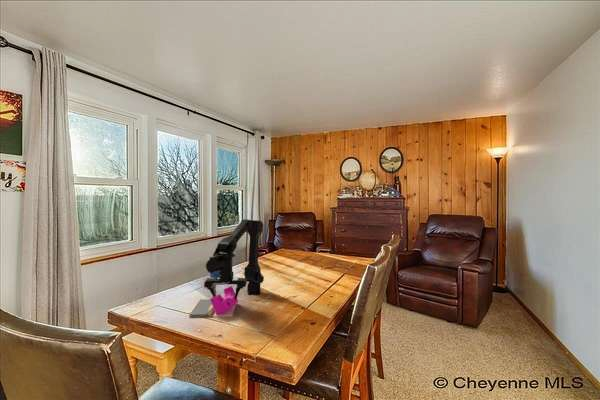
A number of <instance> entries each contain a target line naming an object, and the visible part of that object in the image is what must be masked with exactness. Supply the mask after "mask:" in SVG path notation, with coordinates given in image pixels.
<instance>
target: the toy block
mask: <svg viewBox="0 0 600 400" xmlns="http://www.w3.org/2000/svg"><path fill="white" fill-rule="evenodd" d="M223 292H224V297H222V295H221V294H216V296H214V297H213V296H212V297H211V298H209V299H210V300H211V302H212V305H213V307H214V312H216V315H218V314H221V313H223V312H226V311H228V310H230V309H231V308H232V307H233V306H234V305H235V304H236V305H237V304H238V302H239V299H238V298H237V299H235V294H236V291H235V290H234V287H233V285H229V286H228V287H225V288H224V289H223Z"/></svg>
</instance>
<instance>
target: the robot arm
mask: <svg viewBox="0 0 600 400" xmlns="http://www.w3.org/2000/svg"><path fill="white" fill-rule="evenodd" d="M263 229H264V223H263V221H262V220H254V219H247V218H246V219H241V220H240V223H239V224H238V225H237V226H236V228H235V229H233V231H232V232H231V233H230V234H229V235H228V236H225V237H223V238H222V239H221V240H220V241H219V242H218V243H217V245H216V248H215V250H214V252H213V254H212V256H210V257H209V259H208V260H207V262H206V263H205V268H206V270H207V272H208V273H209V272H210V273H209V274H211V273H213V272H216V271H219V277H220V278H219V280H218V279H215V278H214V277H213V278H211V277H208V278H206V280H205V281H204V283H203V288H205V289H207V290H209V292H210V294H211V295H212V297H214V296H217V289H216V287H217V285H218V286H219V285H220V286H222V285H224V286H225V285H227V286H228V285H229V286H231V285H236V287H235V299H238V296H239V293H240V291H241V290H242V289H244V288H245V287H246V286H247V287H246V288H247V295H252V296H253V295H261V284H262V283H263V282H264V279H265V277H264V276H263V274H262V273H261V266H260V265H259V250H260V247H259V246H260V236H261V235H262V233H263ZM246 232H247V234H248V235H249V247H248V249H249V250H248V251H249V252H248V264H247V265H246V266H245V267H244V272H243V276H244V277H238V278H237V279H235V280H234V271H233V258H235V257H236V255H235V253H234V251H235V250H236V249H237V248H238V242H239V240H240V239H241V238H242V237H243V236H244V234H245V233H246ZM247 282H248V283H247Z"/></svg>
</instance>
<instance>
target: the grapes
mask: <svg viewBox="0 0 600 400" xmlns="http://www.w3.org/2000/svg"><path fill="white" fill-rule="evenodd" d="M208 273H209V276H210V277H209V278H215V280H218V279H220V277H219V271H216V272H213V273H210V272H208Z"/></svg>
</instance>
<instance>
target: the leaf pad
mask: <svg viewBox="0 0 600 400" xmlns="http://www.w3.org/2000/svg"><path fill="white" fill-rule="evenodd" d="M236 305H237V303H236V304H235V305H234V306H233V307H232V308H231V309H230V310H228V311H226V312H223V313H221V314H218V315H216V312H215V311H213V313H212V315H211V317H212V318H213V317H232V316H233V314H234V310H235V308H236Z"/></svg>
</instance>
